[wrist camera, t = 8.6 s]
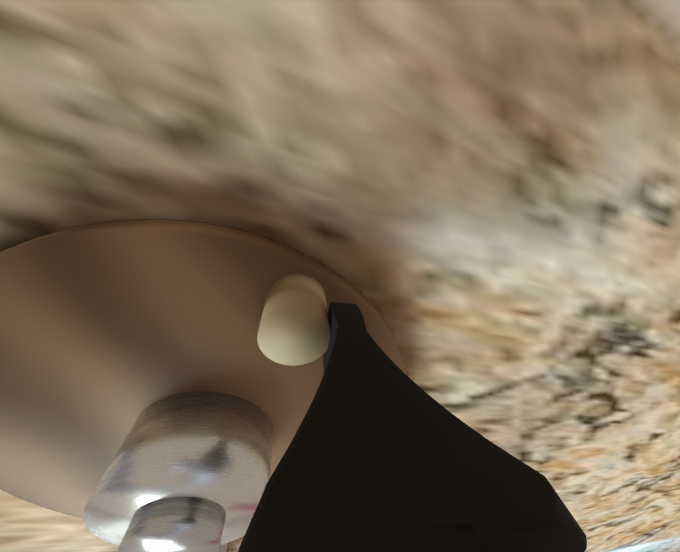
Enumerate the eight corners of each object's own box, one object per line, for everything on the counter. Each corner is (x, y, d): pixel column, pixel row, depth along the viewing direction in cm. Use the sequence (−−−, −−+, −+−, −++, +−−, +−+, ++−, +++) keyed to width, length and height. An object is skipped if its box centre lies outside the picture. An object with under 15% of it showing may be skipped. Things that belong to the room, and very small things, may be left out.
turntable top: (130, 533, 20) (98, 606, 17) (-245, 296, 9) (-529, 379, 6) (412, 465, 21) (431, 524, 18) (381, 159, 10) (420, 169, 6)
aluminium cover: (181, 480, 16) (140, 595, 12) (102, 414, 12) (8, 543, 8) (291, 450, 16) (287, 555, 12) (242, 375, 12) (213, 487, 8)
